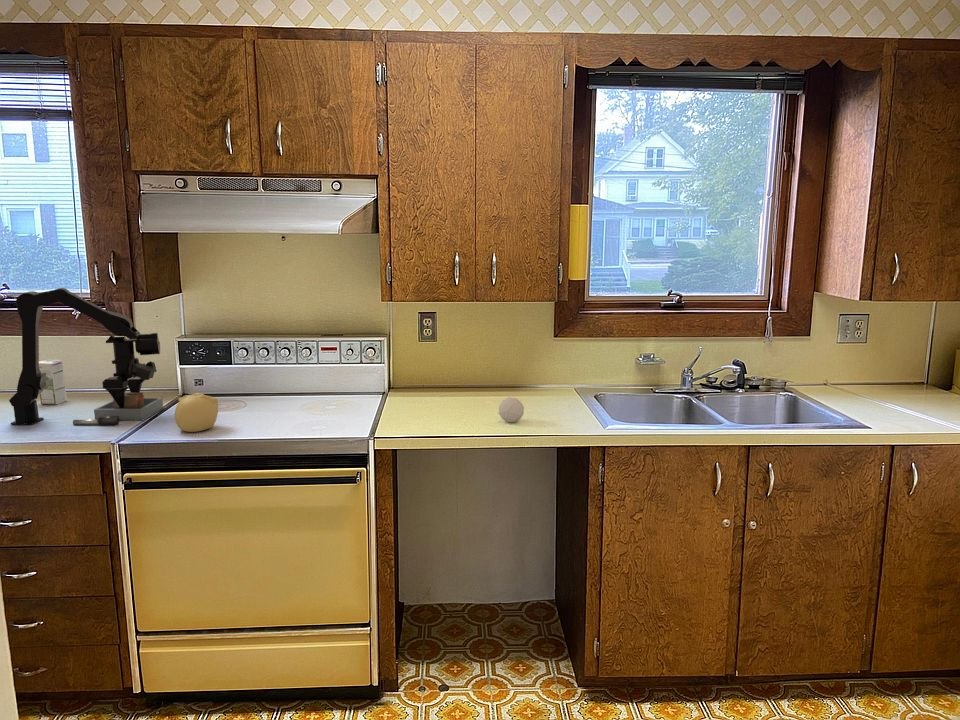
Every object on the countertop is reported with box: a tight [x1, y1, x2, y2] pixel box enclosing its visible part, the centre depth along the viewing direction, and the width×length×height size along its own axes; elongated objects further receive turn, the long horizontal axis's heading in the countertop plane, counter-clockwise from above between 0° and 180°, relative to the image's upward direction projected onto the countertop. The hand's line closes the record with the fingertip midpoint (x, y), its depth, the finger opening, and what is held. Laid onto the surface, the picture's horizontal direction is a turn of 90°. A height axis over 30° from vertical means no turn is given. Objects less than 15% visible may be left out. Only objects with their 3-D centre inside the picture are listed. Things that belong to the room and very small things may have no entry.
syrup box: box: [39, 359, 68, 405], centre depth 237 cm, size 6×6×14 cm
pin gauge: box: [72, 416, 120, 426], centre depth 212 cm, size 13×3×3 cm, turn 90°
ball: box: [498, 396, 525, 424], centre depth 214 cm, size 8×8×8 cm
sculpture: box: [174, 392, 219, 433], centre depth 206 cm, size 12×12×11 cm
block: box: [112, 391, 145, 409], centre depth 223 cm, size 5×7×6 cm
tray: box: [93, 397, 164, 421], centre depth 223 cm, size 15×15×4 cm
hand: (129, 404), depth 223 cm, fingers open, 9 cm apart
